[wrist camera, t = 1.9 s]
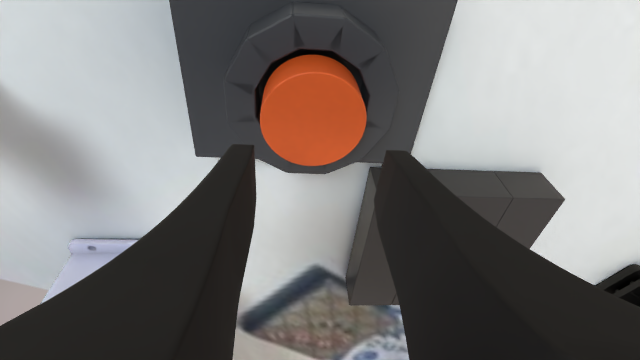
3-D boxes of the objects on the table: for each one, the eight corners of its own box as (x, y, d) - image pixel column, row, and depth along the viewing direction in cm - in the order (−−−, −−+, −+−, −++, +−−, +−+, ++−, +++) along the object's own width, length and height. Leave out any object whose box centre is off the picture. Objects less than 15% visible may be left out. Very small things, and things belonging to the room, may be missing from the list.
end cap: (585, 331, 36) (635, 404, 31) (540, 318, 34) (585, 395, 28) (684, 278, 31) (764, 357, 25) (639, 258, 28) (717, 340, 23)
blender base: (345, 277, 27) (349, 305, 25) (369, 166, 20) (377, 194, 19) (476, 276, 28) (489, 304, 27) (541, 172, 22) (565, 199, 20)
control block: (202, 138, 19) (187, 179, 16) (176, -34, 14) (147, -17, 11) (400, 146, 20) (417, 186, 17) (443, -10, 15) (478, 10, 12)
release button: (263, 141, 15) (260, 165, 14) (262, 50, 13) (258, 68, 11) (352, 144, 16) (357, 168, 14) (367, 57, 13) (376, 75, 12)
